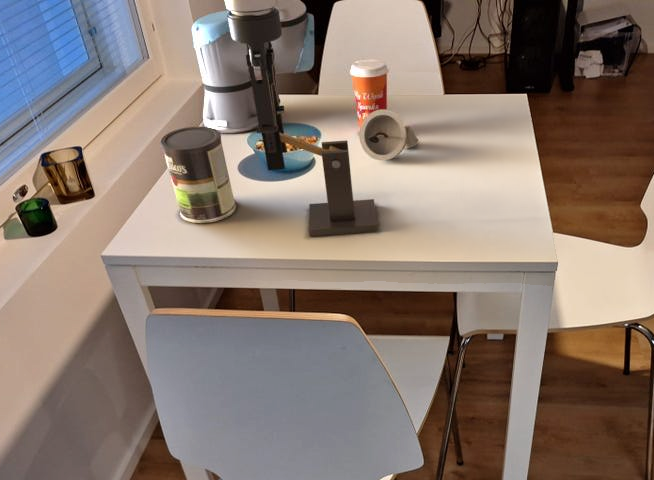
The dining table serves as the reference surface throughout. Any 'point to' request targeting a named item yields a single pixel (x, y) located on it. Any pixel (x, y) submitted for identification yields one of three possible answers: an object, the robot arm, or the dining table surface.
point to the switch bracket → (340, 199)
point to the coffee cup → (369, 86)
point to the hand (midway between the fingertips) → (277, 160)
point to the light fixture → (385, 135)
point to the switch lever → (304, 145)
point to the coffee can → (199, 174)
